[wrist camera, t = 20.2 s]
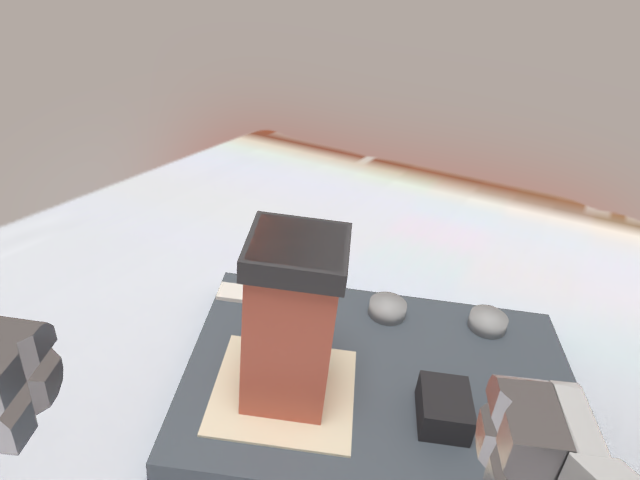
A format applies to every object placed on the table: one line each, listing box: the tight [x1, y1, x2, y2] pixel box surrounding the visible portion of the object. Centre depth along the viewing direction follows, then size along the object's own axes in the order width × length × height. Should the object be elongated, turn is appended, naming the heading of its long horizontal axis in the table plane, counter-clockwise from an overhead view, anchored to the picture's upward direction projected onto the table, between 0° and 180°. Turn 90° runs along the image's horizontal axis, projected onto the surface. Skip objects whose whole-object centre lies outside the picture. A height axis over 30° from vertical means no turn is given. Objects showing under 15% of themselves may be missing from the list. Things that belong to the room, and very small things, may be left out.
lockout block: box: [237, 211, 352, 425], centre depth 30 cm, size 5×5×10 cm
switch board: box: [146, 273, 577, 480], centre depth 35 cm, size 24×17×3 cm
